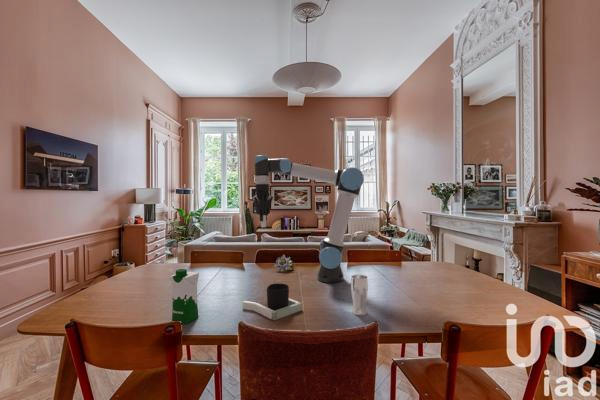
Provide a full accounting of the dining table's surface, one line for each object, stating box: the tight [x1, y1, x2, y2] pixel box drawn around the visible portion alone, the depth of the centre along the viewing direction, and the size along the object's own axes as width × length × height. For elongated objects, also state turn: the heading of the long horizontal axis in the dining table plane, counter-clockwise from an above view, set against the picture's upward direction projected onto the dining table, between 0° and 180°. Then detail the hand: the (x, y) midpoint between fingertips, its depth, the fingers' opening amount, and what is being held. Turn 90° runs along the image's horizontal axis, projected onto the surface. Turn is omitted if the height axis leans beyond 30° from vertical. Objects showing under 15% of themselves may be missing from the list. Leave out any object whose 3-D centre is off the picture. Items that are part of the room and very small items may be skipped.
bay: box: [242, 297, 303, 321], centre depth 126 cm, size 19×20×3 cm
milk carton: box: [169, 268, 200, 325], centre depth 115 cm, size 9×9×20 cm
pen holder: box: [266, 282, 290, 311], centre depth 124 cm, size 9×9×10 cm
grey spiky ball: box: [273, 254, 295, 273], centre depth 191 cm, size 11×11×12 cm
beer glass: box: [350, 274, 369, 317], centre depth 121 cm, size 7×7×15 cm
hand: (263, 227), depth 160 cm, fingers closed
